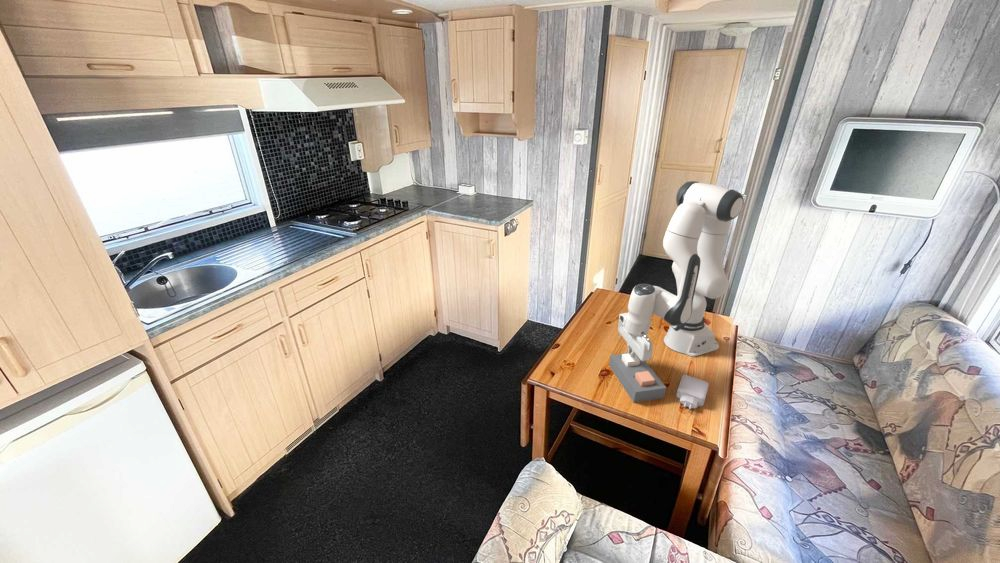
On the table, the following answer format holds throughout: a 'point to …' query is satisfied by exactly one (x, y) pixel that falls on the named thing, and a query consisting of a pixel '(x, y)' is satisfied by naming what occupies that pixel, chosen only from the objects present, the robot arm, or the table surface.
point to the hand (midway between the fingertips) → (631, 355)
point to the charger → (692, 391)
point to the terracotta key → (644, 378)
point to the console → (631, 385)
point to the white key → (630, 360)
